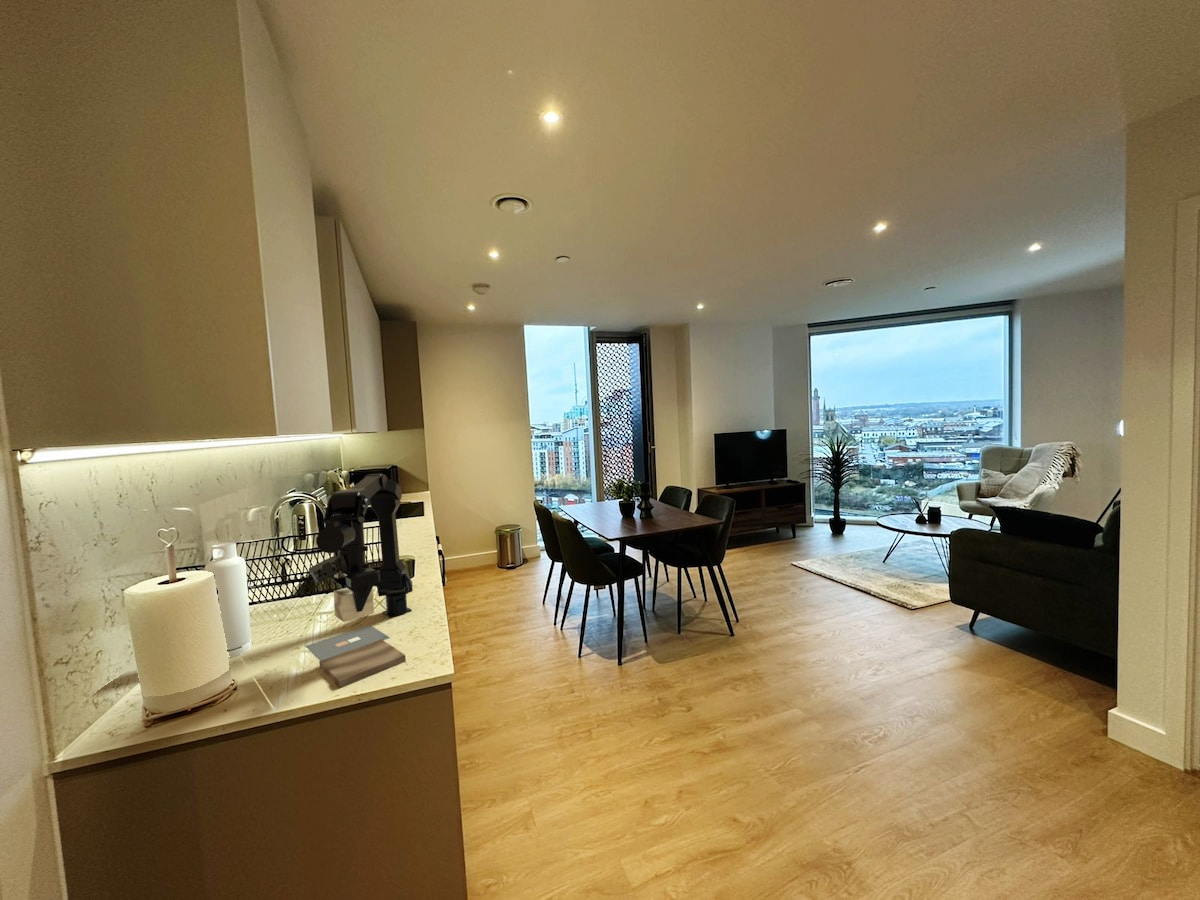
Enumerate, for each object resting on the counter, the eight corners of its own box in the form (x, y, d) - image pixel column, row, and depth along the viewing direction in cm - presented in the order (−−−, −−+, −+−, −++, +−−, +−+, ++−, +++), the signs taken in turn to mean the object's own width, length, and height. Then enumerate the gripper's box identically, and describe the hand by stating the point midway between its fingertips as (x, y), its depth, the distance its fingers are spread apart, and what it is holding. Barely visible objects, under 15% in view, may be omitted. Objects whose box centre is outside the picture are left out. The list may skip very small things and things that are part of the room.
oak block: (334, 615, 105) (333, 590, 105) (364, 607, 110) (362, 583, 110) (343, 622, 101) (342, 596, 101) (373, 613, 106) (372, 588, 106)
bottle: (259, 644, 118) (252, 540, 117) (234, 659, 110) (226, 547, 109) (229, 645, 118) (221, 541, 117) (202, 660, 110) (193, 549, 109)
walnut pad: (319, 667, 103) (319, 661, 103) (381, 644, 114) (381, 639, 113) (340, 688, 94) (339, 681, 94) (405, 661, 104) (405, 655, 104)
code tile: (305, 646, 115) (304, 645, 115) (369, 625, 126) (369, 624, 126) (321, 663, 105) (321, 662, 105) (390, 638, 117) (390, 637, 117)
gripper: (300, 545, 106) (304, 610, 106) (324, 555, 93) (328, 629, 93) (351, 537, 114) (354, 597, 114) (379, 545, 101) (383, 612, 101)
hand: (354, 608), depth 106 cm, fingers closed on oak block, 6 cm apart
